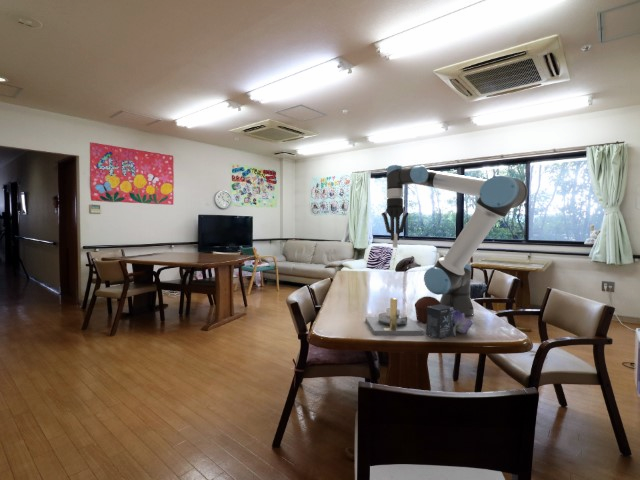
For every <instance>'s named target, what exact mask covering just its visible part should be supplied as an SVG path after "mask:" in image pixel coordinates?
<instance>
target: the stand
mask: <svg viewBox="0 0 640 480" xmlns="http://www.w3.org/2000/svg"><path fill="white" fill-rule="evenodd" d="M365 322H366V324H367V326H368V327H369V329H370V331H371V332H372V334H373V335H374V336H410V335H411V336H423V335H424V330H423V329H422V328H421V327H420V326H419V325H418V324H417V323H416V322H415V321H414V320H412V318H410V317H409V316H407V324H405V325H398V326H397V329H396V330H391V329H390V325H386V324H383V323H380V322H379V321H378V316H376V317H375V316H374V317H373V316H372V317H371V316H367V317H365Z"/></svg>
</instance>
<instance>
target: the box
mask: <svg viewBox="0 0 640 480" xmlns="http://www.w3.org/2000/svg"><path fill="white" fill-rule="evenodd" d="M425 325H426V327H425V328H426V330H425V334H426V336H429V337H432V338H433V339H436V338H437V340H440V339H444V338H447V337H451V336H453V331H452V329H453V307H450V306H446V305H442V304H439V305H434V306H428V307H427V324H425Z"/></svg>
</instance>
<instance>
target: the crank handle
mask: <svg viewBox="0 0 640 480" xmlns="http://www.w3.org/2000/svg"><path fill="white" fill-rule="evenodd" d="M389 301H390V303H389V306H390V307H388V308H386V309H385V310H386V312H381V313H379V314H378V316H377V317H378V321H379V322H380V323H383V324H386V325H390V329H391V330H396V329H397V326H398V325H405V324H407V317H408V316H407V315H405V314H403V313H400V309H399V308H398V298H396V297H391V298H390V299H389Z"/></svg>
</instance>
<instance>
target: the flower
mask: <svg viewBox="0 0 640 480" xmlns="http://www.w3.org/2000/svg"><path fill="white" fill-rule="evenodd" d="M465 317H466V316H464V313H462V314H461V313H460V311H458V310H457V311H455V310H454V309H453V329H452V335H453V337H454V336H457V335H456V334H457V332H458V333H460V334H462V333H463V334H466V333H468V330H469V329H471V327H472V325H473V321H472V319H470V318H467V317H466V318H465Z"/></svg>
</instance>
